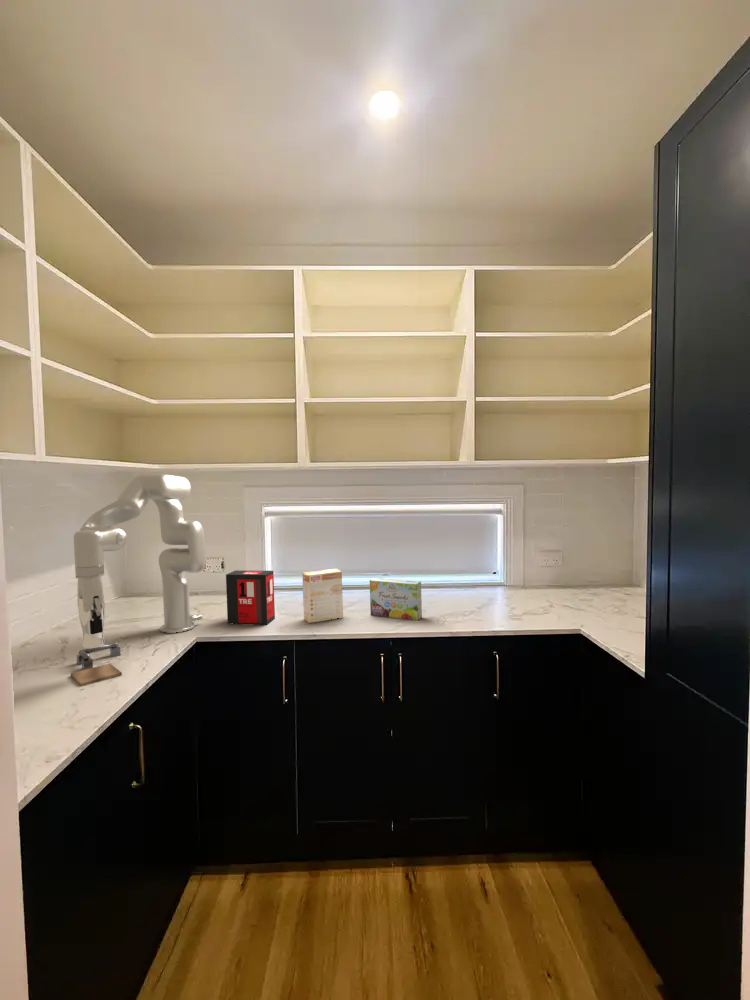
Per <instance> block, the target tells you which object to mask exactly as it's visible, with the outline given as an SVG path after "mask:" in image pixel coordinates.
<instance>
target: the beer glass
mask: <svg viewBox="0 0 750 1000" xmlns="http://www.w3.org/2000/svg"><path fill="white" fill-rule="evenodd" d="M103 599H104V600H105V597H104V594H103ZM105 604H106V603H105V602H104V607H103V609H102V612H101V614H102V627H103V628H104V625H105V617H106V605H105ZM77 607H78V606H77ZM101 607H102V605H101ZM94 609H95V606H94V603H93V606H92V610H94ZM94 613H96V612H93V615H94ZM78 618H79V623H80V626H81V630H82V645H81V647H82V648H83V649H92V648H97V647H101V646H103V645H105V644H106V640H105V637H104V631H103V632H101V633H96V634H90V621H91V617H90V610H89V611H88V612H85V611H83V599H81V598H80V597H79V607H78Z"/></svg>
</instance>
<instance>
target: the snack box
mask: <svg viewBox="0 0 750 1000" xmlns="http://www.w3.org/2000/svg"><path fill="white" fill-rule="evenodd" d="M369 596H370V597H369V600H370V602H369V603H370V605H369V606H370V616H374V617H375V616H377V617H386V618H392V619H400V620H411V621H419V620H420V619H421V618H422V616H423V613H422V612H423V610H422V609H423V606H422V605H423V603H422V602H423V601H422V582H421V581H417V580H406V579H404V580H403V579H396V578H395V579H393V578H383V577H382V578H381V577H380V578H379V577H373V578H371V579H370V580H369Z"/></svg>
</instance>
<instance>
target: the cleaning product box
mask: <svg viewBox="0 0 750 1000" xmlns="http://www.w3.org/2000/svg"><path fill="white" fill-rule="evenodd" d="M225 584H226V585H225V587H226V588H225V589H226V610H227V611H226V612H227V624H228V623H233V624H232V625H243V624H253V626H268V625H270V624H271V623H272V622H273V621H274V620H276V612H275V611H276V610H275V609H276V608H275V581H274V570H239V569H238V570H237V569H236V570H233V571H231V572H229V573H226V574H225Z"/></svg>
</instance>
